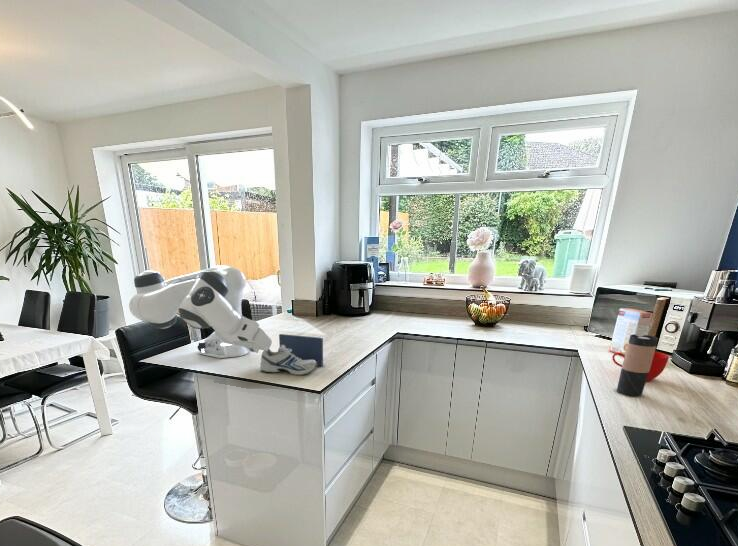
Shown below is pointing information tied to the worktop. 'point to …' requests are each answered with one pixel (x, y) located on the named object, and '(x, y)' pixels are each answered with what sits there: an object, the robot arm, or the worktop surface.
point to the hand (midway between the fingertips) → (255, 350)
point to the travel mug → (636, 365)
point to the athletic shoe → (285, 362)
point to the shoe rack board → (304, 347)
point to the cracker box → (629, 328)
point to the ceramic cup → (652, 364)
